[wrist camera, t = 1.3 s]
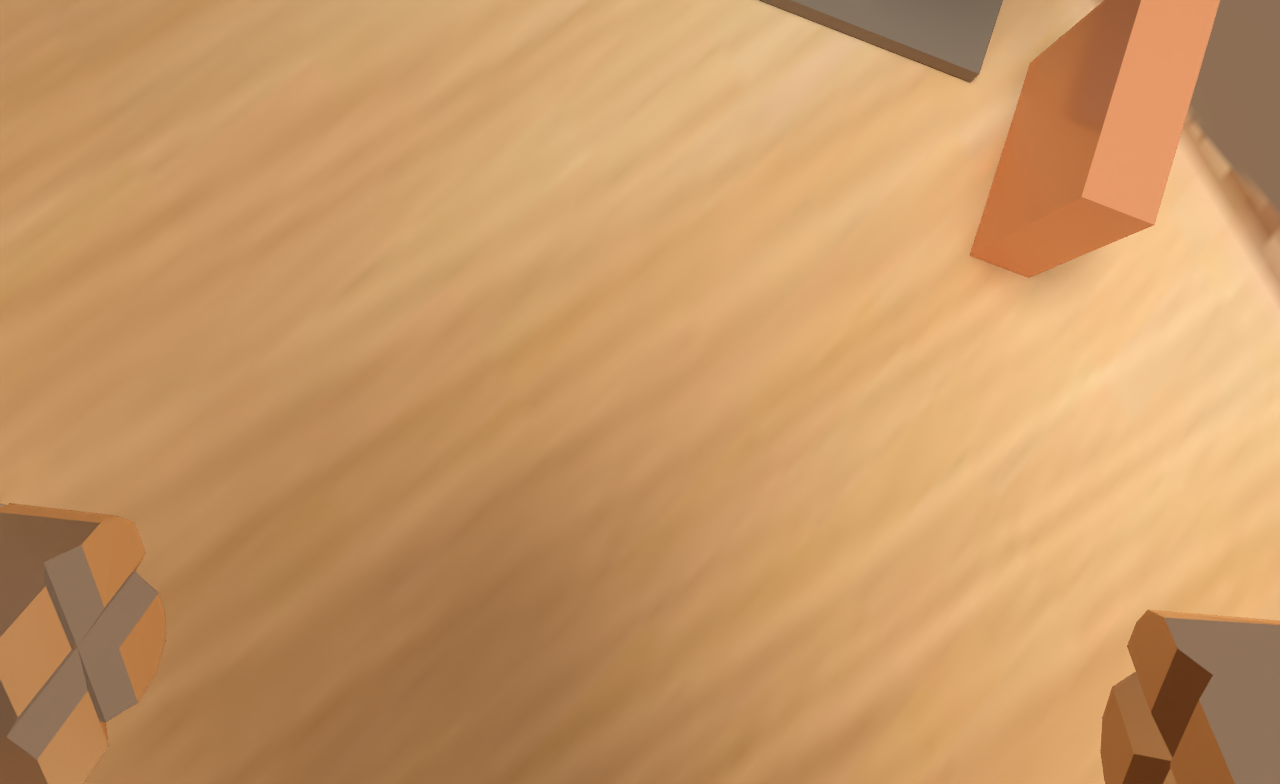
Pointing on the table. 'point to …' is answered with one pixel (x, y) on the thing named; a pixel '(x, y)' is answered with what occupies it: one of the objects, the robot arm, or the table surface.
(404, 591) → the table surface
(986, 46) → the overhang dock
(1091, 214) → the tile panel
